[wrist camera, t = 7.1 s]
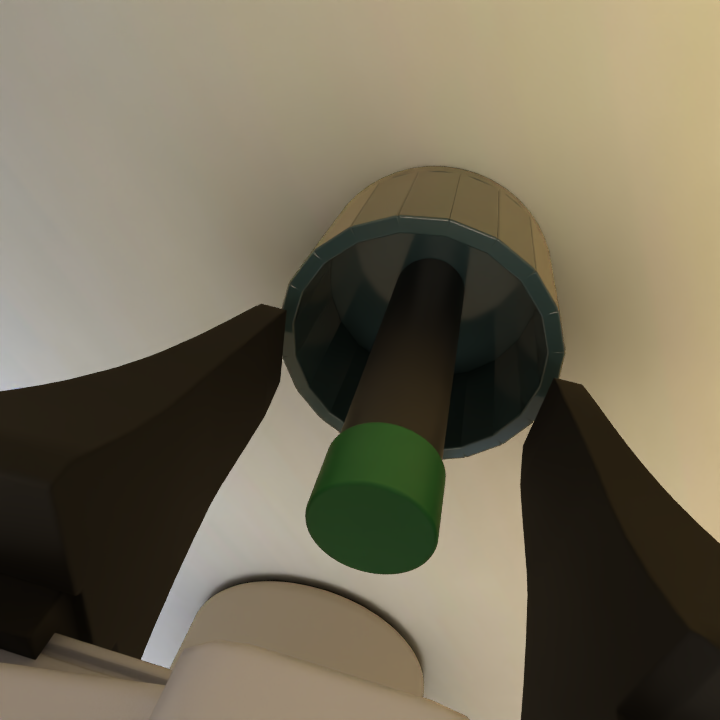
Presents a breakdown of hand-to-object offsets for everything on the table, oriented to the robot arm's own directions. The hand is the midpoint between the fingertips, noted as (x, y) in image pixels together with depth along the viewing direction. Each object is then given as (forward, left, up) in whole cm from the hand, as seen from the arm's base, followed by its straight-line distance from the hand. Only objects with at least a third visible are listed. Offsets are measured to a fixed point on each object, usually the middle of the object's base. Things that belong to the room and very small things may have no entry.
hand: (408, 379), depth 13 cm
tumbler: (0, 0, -5) cm, 5 cm away
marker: (0, 0, -5) cm, 5 cm away
